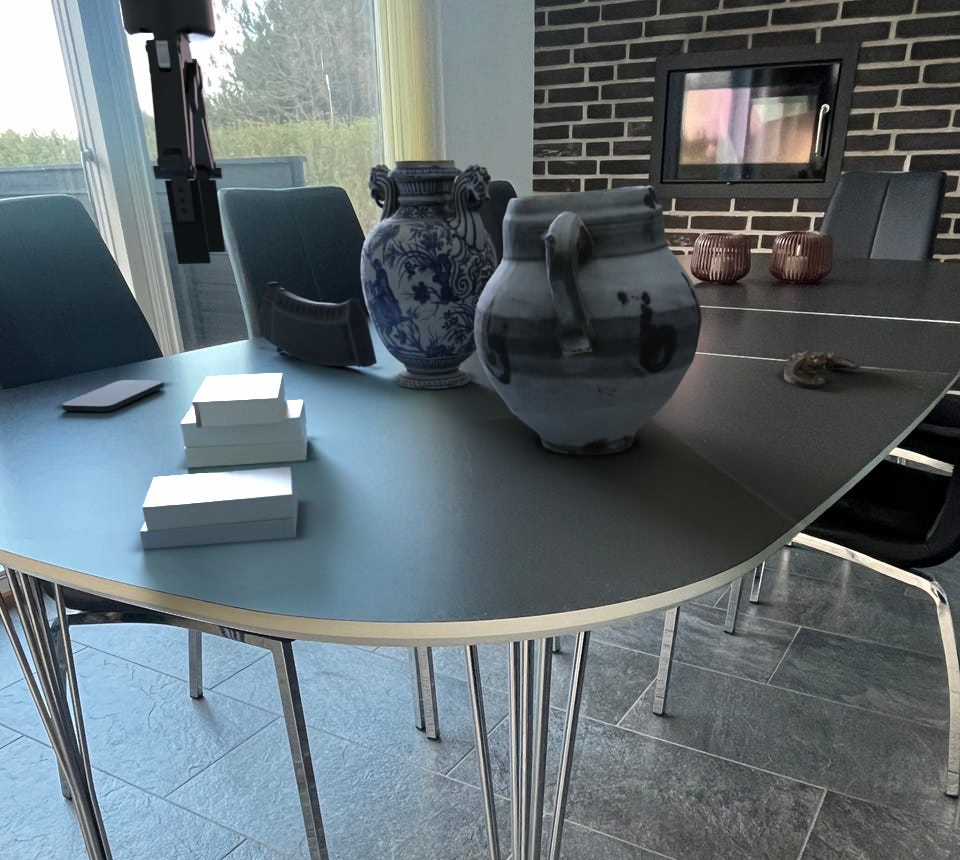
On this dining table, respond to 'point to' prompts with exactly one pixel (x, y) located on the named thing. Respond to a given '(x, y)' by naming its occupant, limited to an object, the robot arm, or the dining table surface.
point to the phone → (113, 395)
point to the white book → (239, 400)
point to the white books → (247, 440)
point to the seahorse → (813, 367)
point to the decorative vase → (427, 267)
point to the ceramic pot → (587, 317)
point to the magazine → (316, 329)
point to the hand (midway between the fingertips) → (203, 257)
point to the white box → (220, 508)
